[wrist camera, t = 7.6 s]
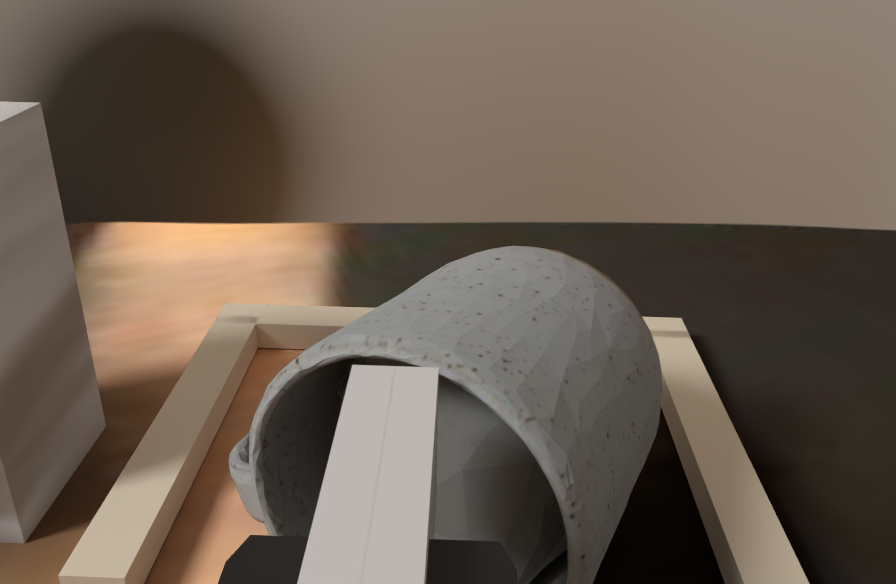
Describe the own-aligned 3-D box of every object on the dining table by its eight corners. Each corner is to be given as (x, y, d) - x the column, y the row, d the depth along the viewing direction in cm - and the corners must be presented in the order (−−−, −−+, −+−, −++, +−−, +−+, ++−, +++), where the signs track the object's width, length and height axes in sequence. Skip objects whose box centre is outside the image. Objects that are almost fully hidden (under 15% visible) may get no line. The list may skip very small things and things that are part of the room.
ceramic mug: (660, 492, 22) (698, 236, 19) (567, 739, 16) (601, 411, 12) (338, 400, 27) (323, 175, 23) (157, 564, 20) (100, 283, 17)
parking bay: (677, 341, 30) (681, 318, 30) (810, 637, 18) (820, 605, 18) (228, 326, 31) (225, 303, 30) (66, 607, 19) (57, 575, 18)
